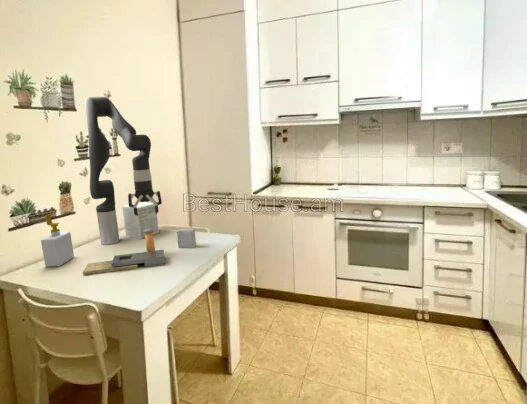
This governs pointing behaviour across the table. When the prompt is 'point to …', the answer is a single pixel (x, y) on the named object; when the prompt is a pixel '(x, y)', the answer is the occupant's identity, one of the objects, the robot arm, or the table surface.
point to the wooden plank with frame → (126, 262)
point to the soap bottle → (56, 246)
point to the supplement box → (140, 220)
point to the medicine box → (186, 238)
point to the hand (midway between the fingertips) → (146, 214)
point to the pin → (149, 239)
